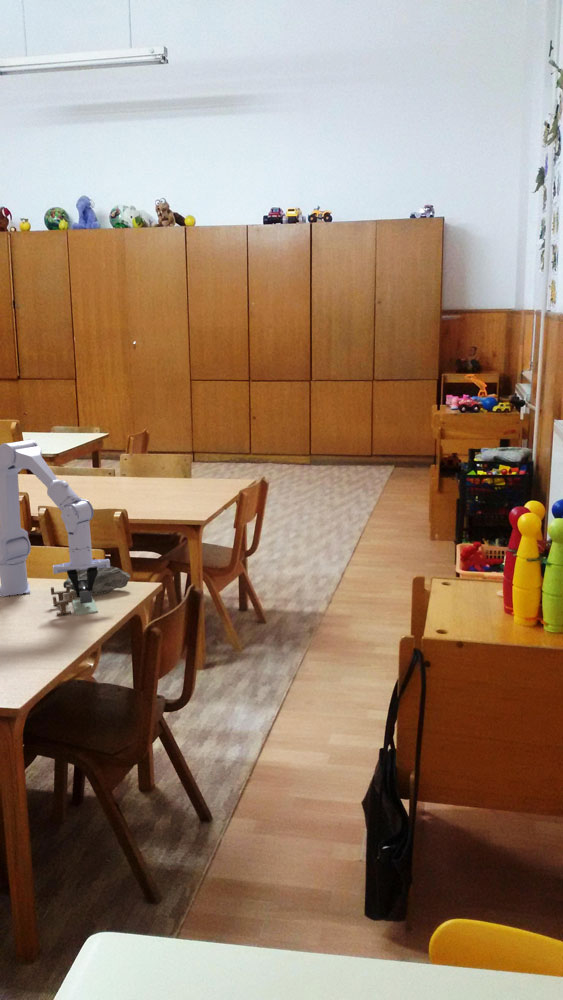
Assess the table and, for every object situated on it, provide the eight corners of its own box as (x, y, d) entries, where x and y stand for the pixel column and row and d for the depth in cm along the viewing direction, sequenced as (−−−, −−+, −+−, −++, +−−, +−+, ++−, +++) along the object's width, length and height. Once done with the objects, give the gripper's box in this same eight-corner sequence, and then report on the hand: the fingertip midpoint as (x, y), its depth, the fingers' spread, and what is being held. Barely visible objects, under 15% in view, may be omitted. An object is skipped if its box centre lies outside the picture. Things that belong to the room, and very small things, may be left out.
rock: (66, 593, 218) (62, 560, 222) (65, 607, 226) (61, 575, 230) (133, 586, 224) (128, 553, 228) (130, 599, 232) (125, 568, 236)
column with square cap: (76, 590, 219) (75, 579, 218) (87, 589, 220) (86, 578, 219) (80, 603, 208) (79, 592, 207) (92, 602, 208) (91, 591, 208)
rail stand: (52, 605, 216) (50, 587, 215) (70, 602, 218) (69, 585, 217) (54, 616, 207) (53, 597, 206) (73, 613, 209) (72, 595, 208)
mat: (72, 601, 219) (71, 599, 219) (92, 598, 221) (92, 597, 221) (76, 615, 208) (76, 613, 208) (98, 612, 210) (98, 610, 209)
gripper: (52, 553, 205) (56, 604, 208) (110, 547, 209) (113, 597, 212) (50, 547, 211) (55, 596, 214) (106, 541, 216) (110, 589, 219)
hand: (84, 596), depth 214 cm, fingers closed on column with square cap, 2 cm apart
